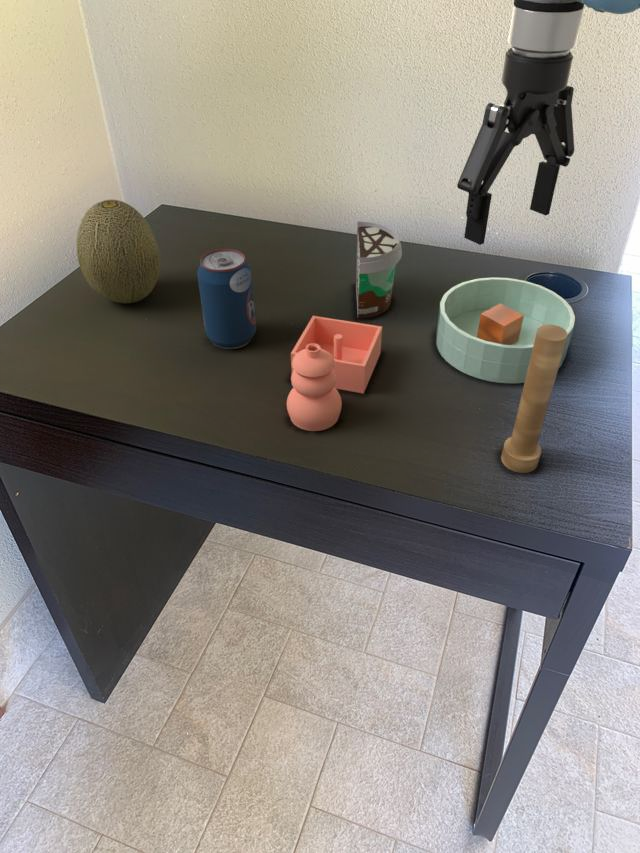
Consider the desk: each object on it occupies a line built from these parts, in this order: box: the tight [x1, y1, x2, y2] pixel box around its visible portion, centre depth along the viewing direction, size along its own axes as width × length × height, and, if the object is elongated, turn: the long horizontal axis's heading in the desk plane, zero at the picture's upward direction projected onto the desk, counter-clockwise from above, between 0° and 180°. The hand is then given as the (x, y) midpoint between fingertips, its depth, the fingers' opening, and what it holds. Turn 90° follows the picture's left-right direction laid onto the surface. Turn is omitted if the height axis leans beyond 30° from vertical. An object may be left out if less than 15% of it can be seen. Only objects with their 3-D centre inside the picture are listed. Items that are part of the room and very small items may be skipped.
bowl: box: [435, 276, 576, 384], centre depth 91 cm, size 17×17×6 cm
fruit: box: [76, 199, 161, 304], centre depth 98 cm, size 11×11×15 cm
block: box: [477, 304, 524, 345], centre depth 92 cm, size 4×4×4 cm
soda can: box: [196, 248, 257, 350], centre depth 91 cm, size 7×7×12 cm
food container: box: [355, 220, 403, 319], centre depth 98 cm, size 12×6×10 cm, turn 179°
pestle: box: [500, 324, 567, 474], centre depth 70 cm, size 4×4×17 cm
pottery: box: [286, 315, 383, 432], centre depth 83 cm, size 18×10×10 cm, turn 163°
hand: (507, 225), depth 92 cm, fingers open, 13 cm apart
